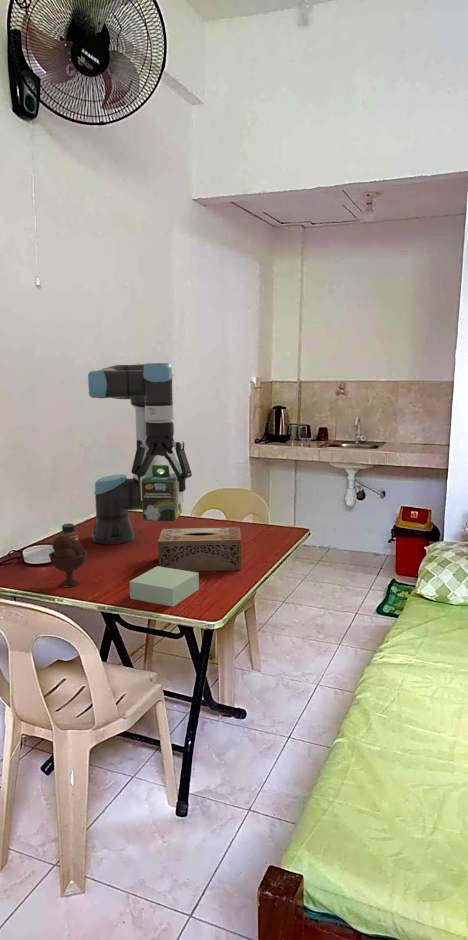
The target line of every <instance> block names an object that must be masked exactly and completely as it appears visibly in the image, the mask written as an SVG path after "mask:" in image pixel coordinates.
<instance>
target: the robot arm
mask: <svg viewBox="0 0 468 940" xmlns="http://www.w3.org/2000/svg"><path fill="white" fill-rule="evenodd" d="M87 383H88V396H89V397H90V398H92V399H115V400H130V406H132V407H133V408H134V409H135V439H136V440H135V441H136V443H135V444H136V445H135V446H136V450H135V454H134V459H133V463H132V467H131V471H130V472H131V474H132V478H128V476H127V474H114V475H108V476H107V475H106V476H104V477H100V478H98V479H97V480H96V481H95V484H94V495H95V497H94V498H95V519H96V520H95V523H94V526H93V527H94V528H93V531H92V541H93V542H94V543H95V542H96V544H99V545H119V544H120V545H121V544H125V543H127V542H131V541H132V540H134V539H135V532H134V531H135V530H134V529H133V527H132V523H131V520H130V517H129V511H141V510H142V511H143V507H142V484H141V481H142V480H143V479H144V478H145V477H146V476H148V475H149V474H152V465H162V464H161V462H162V461H161V459H162V458H161V457H164V458H165V459H166V460H167V462H168V463H169V466H170V467H171V469H172V470H173V474H176V476H177V478H178V479H177V480H175V489H176V504H180V503H181V504H183V503H184V492H185V491H186V479H189V478H191V477H192V475H193V473H192V471H191V467H190V464H189V461H188V458H187V454H186V451H185V442H184V441H183V440H182V441H181V440H180V441H177V440H175V439H174V435H175V433H174V432H175V431H174V430H175V429H174V422H173V421H172V420H174V403H173V371H172V364H171V363H169V362H153V363H152V362H148V363H147V362H146V363H144V364H142V363H141V364H140V363H139V364H116V365H112V366H111V365H110V366H107V367H104V368H101V369H99V370H91V371H89V372H88V373H87ZM173 448H174V450H175V451H174V450H173ZM175 452H176V453H175ZM176 456H177V457H176ZM157 472H158V473H160V474H162V473H164V472H165V471H164V470H163V469H158V470H157Z"/></svg>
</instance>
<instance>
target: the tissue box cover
mask: <svg viewBox="0 0 468 940" xmlns="http://www.w3.org/2000/svg"><path fill="white" fill-rule="evenodd" d="M159 534H160V535H159V537H158V540H157V552H158V555H157V557H158V566H159V567H165V568H172V569H178V570H184V571H191V572H199V571H201V572H202V571H203V572H205V571H242V535H241V528H240V527H238V526H237V527H199V528H198V527H193V528H191V527H190V528H189V527H188V528H187V527H185V528H181V527H180V528H161V531H160V533H159Z"/></svg>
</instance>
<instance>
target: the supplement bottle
mask: <svg viewBox="0 0 468 940" xmlns="http://www.w3.org/2000/svg"><path fill="white" fill-rule="evenodd" d="M62 535H65V536H69V537H70V538H72V539H76V540H78V541H79V532H78V531H77V530H76V529H75V524H74V523H64V524H62V526H61V531H60V532H59V536H62Z"/></svg>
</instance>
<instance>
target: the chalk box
mask: <svg viewBox="0 0 468 940" xmlns="http://www.w3.org/2000/svg"><path fill="white" fill-rule="evenodd" d="M158 469H161V470H162V471H163V472H164V473H162V474H160V473H158V472H157V470H158ZM177 479H178V478H177V476H176V474H175V473H170V465H167V464H161V465H152V474H149V475H148V476H146V477H145V478H144V479H143V480H142V481H141V484H142V507H143V510H142V521H153V522H154V521H157V522H176V521H177V519H178V518H179V516H180V515H181V514H182V503H180V504H176V489H175V480H177Z"/></svg>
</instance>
